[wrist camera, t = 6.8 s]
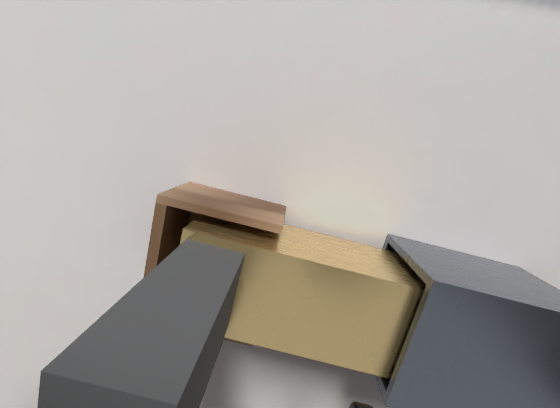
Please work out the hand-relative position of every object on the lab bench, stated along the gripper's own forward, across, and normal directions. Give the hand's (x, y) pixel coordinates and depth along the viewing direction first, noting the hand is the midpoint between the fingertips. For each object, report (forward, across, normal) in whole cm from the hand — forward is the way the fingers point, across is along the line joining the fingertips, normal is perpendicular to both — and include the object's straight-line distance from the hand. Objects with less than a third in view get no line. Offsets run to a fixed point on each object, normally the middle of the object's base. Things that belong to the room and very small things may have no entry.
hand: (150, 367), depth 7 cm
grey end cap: (+8, -10, 0) cm, 13 cm away
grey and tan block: (+8, -3, 0) cm, 8 cm away
